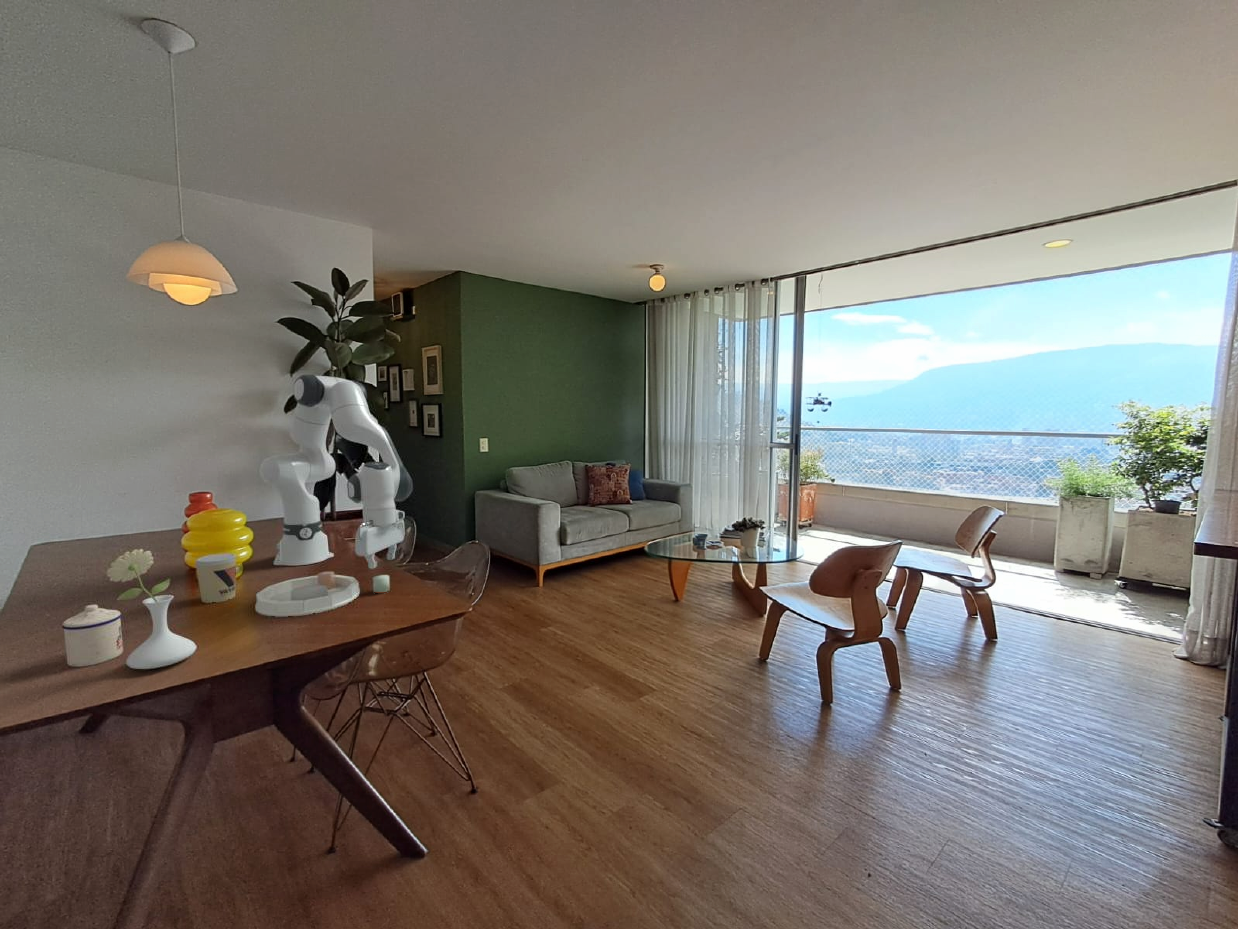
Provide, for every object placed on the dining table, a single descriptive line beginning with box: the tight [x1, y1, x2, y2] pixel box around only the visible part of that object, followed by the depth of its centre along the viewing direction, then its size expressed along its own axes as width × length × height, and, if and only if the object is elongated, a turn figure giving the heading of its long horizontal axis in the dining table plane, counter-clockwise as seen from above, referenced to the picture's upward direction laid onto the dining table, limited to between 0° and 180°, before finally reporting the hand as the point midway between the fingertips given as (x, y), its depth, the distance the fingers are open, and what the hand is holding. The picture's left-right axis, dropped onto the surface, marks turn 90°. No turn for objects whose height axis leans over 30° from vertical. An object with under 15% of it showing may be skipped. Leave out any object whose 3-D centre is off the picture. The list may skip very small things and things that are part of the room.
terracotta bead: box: [317, 570, 336, 590], centre depth 159 cm, size 4×4×4 cm
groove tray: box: [254, 574, 361, 618], centre depth 151 cm, size 26×26×4 cm
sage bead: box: [372, 574, 391, 593], centre depth 159 cm, size 4×4×4 cm
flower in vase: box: [106, 548, 197, 670], centre depth 112 cm, size 13×11×25 cm
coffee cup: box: [194, 553, 237, 604], centre depth 152 cm, size 9×9×12 cm
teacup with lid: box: [61, 604, 124, 668], centre depth 115 cm, size 12×9×12 cm
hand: (382, 563), depth 158 cm, fingers open, 8 cm apart
